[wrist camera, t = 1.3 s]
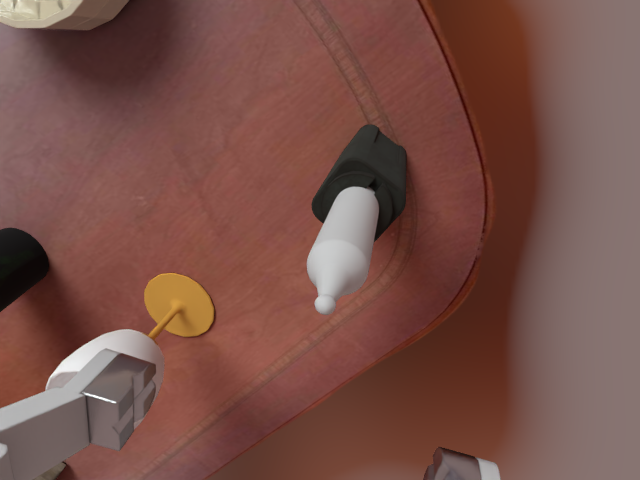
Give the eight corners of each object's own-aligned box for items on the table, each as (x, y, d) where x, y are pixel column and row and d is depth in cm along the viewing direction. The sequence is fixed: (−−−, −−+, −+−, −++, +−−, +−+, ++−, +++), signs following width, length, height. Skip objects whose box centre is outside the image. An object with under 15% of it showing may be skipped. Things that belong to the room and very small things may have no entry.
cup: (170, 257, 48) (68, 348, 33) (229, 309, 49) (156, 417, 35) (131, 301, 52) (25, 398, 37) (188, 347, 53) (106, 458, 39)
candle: (411, 154, 38) (417, 307, 16) (376, 195, 40) (336, 381, 18) (367, 118, 37) (308, 225, 15) (334, 163, 40) (238, 312, 17)
